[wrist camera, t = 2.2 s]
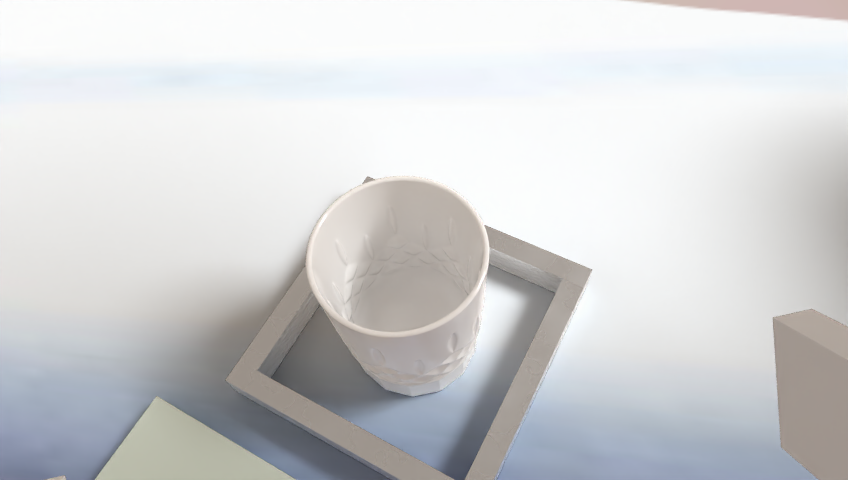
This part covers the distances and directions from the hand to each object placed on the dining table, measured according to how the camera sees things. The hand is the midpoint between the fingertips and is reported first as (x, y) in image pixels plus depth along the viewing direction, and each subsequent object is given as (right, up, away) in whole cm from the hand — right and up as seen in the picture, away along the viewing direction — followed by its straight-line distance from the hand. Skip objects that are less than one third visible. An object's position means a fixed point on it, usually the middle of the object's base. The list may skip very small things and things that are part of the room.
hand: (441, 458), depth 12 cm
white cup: (-1, -2, +25) cm, 25 cm away
